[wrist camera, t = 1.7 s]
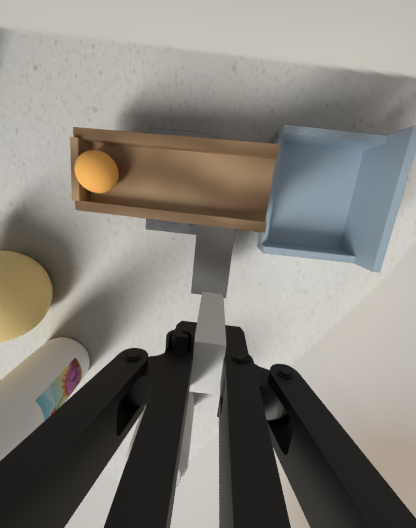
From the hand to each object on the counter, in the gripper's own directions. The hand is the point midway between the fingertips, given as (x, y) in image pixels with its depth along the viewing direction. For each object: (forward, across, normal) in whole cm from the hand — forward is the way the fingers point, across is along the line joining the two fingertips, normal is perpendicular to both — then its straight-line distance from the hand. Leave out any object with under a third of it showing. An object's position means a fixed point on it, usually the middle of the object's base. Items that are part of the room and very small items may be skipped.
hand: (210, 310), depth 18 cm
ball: (+9, -13, +9) cm, 18 cm away
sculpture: (+17, -27, -7) cm, 32 cm away
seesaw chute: (+11, -5, +5) cm, 14 cm away
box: (+16, +11, +9) cm, 22 cm away
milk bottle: (+17, -21, -18) cm, 32 cm away
